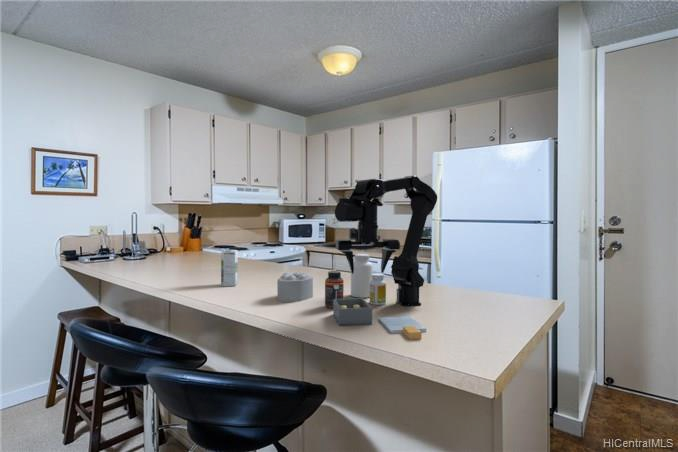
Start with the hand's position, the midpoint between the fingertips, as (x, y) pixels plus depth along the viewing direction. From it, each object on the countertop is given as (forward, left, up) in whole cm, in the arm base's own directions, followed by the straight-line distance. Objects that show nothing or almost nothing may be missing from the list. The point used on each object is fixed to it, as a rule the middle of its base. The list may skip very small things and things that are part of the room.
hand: (367, 272), depth 107 cm
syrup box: (+47, -48, -12) cm, 68 cm away
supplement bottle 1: (+9, -8, -12) cm, 17 cm away
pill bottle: (-3, -21, -12) cm, 24 cm away
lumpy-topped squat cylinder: (+21, -22, -12) cm, 33 cm away
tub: (+6, +6, -12) cm, 15 cm away
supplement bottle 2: (-6, -10, -12) cm, 17 cm away
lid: (-6, +16, -12) cm, 21 cm away
